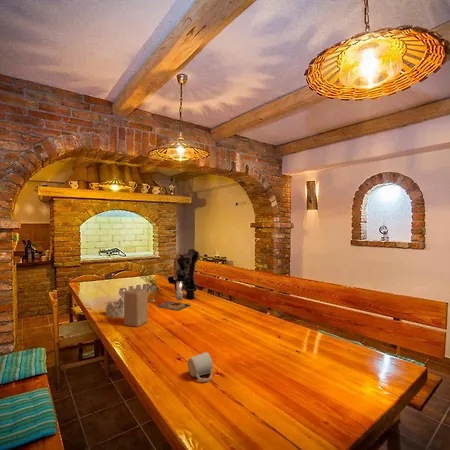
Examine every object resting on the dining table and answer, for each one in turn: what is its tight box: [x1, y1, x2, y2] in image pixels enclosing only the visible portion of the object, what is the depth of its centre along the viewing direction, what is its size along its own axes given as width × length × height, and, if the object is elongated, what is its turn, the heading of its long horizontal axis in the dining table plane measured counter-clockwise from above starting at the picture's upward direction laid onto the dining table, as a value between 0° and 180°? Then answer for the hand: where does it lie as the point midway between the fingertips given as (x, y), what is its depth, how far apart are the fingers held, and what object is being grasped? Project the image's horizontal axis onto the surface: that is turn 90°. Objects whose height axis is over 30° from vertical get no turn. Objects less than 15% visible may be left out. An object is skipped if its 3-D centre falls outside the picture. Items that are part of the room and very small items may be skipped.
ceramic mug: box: [187, 351, 214, 383], centre depth 114 cm, size 11×8×8 cm
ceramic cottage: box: [105, 293, 124, 318], centre depth 193 cm, size 16×16×15 cm
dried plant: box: [127, 257, 163, 294], centre depth 248 cm, size 30×31×45 cm
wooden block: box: [123, 287, 148, 328], centre depth 173 cm, size 10×10×20 cm
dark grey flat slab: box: [156, 300, 192, 312], centre depth 209 cm, size 14×20×3 cm
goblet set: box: [118, 283, 157, 303], centre depth 218 cm, size 28×6×13 cm, turn 123°
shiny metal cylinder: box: [175, 280, 184, 302], centre depth 201 cm, size 4×4×13 cm
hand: (178, 290), depth 200 cm, fingers closed on shiny metal cylinder, 4 cm apart
